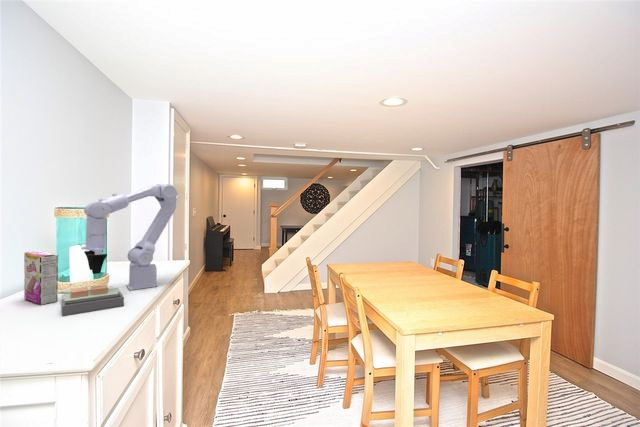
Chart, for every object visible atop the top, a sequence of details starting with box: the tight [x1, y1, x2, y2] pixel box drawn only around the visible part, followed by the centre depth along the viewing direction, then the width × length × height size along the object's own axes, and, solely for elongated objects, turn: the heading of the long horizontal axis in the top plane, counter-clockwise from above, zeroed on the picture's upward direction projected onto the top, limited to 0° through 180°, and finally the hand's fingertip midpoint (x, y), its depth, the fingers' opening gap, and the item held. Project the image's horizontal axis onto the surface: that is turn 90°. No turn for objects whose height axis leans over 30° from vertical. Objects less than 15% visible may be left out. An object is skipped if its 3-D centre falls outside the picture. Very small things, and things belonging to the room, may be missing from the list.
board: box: [61, 287, 121, 303], centre depth 103 cm, size 16×8×2 cm, turn 132°
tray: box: [61, 290, 125, 317], centre depth 96 cm, size 16×8×3 cm, turn 132°
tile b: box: [69, 286, 89, 298], centre depth 101 cm, size 4×4×2 cm
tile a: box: [90, 284, 109, 295], centre depth 104 cm, size 4×4×2 cm
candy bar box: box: [23, 250, 59, 306], centre depth 100 cm, size 11×5×16 cm, turn 65°
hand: (94, 271), depth 108 cm, fingers open, 7 cm apart
